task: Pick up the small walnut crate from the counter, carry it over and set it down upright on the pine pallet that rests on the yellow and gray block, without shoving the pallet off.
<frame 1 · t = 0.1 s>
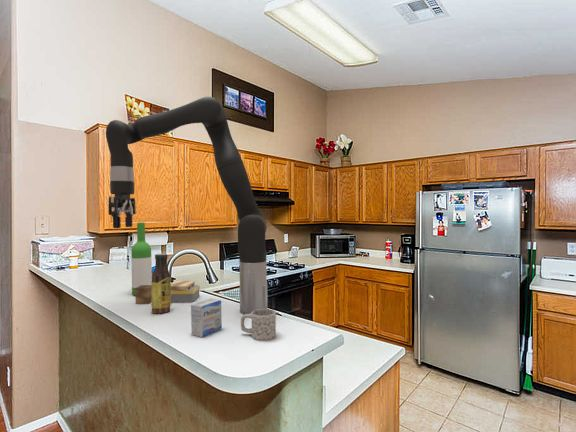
hand: (123, 227, 118), 29 cm above the table, tool pointing down, fingers open, 8 cm apart
wine bottle: (142, 294, 144), on the table
yellow and gray block: (181, 299, 134), on the table
medicine box: (206, 332, 98), on the table
mug: (257, 336, 95), on the table
pallet: (180, 287, 134), point 4 cm above the table, touching yellow and gray block
crate: (145, 302, 131), on the table
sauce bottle: (161, 312, 118), on the table
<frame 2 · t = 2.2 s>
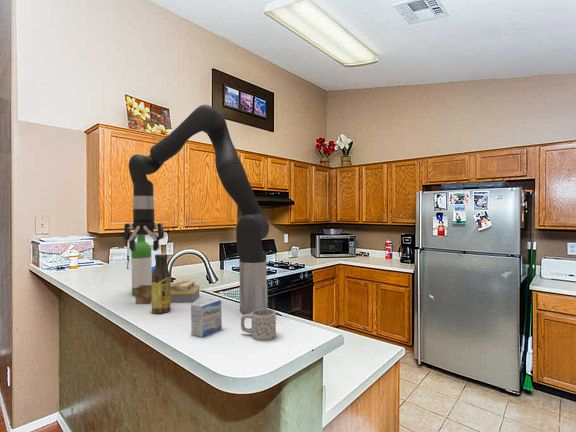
hand: (144, 250, 130), 20 cm above the table, tool pointing down, fingers open, 8 cm apart
nothing on the table moved.
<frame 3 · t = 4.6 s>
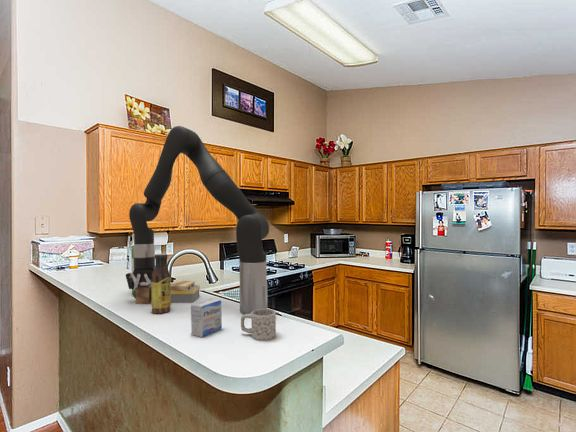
hand: (145, 299, 131), 1 cm above the table, tool pointing down, fingers closed on crate, 5 cm apart
crate: (145, 302, 131), on the table, touching gripper
everything else where it was.
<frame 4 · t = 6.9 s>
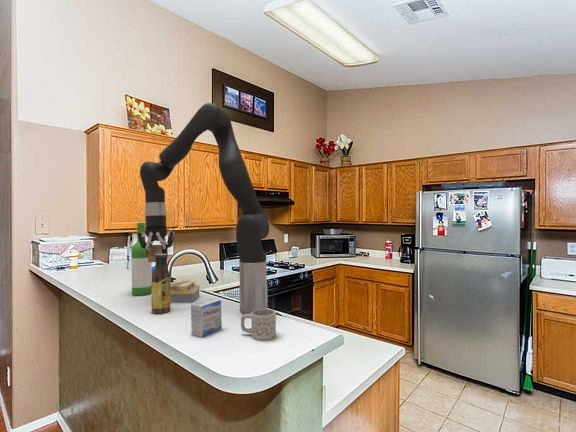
hand: (157, 258, 131), 17 cm above the table, tool pointing down, fingers closed on crate, 5 cm apart
crate: (157, 261, 131), point 16 cm above the table, touching gripper
everything else where it was.
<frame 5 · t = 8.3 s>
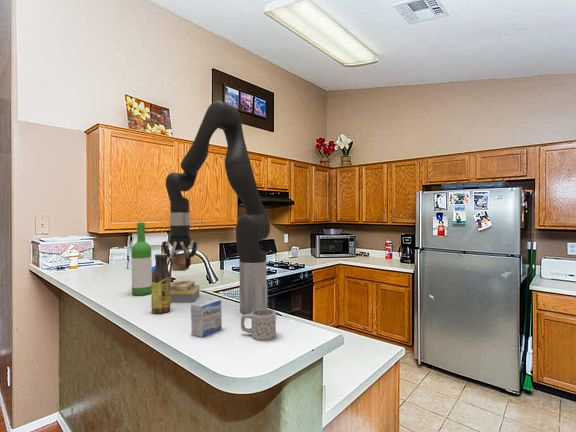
hand: (180, 267, 134), 13 cm above the table, tool pointing down, fingers closed on crate, 5 cm apart
crate: (180, 269, 134), point 12 cm above the table, touching gripper
everything else where it was.
when the fingers open (8 cm above the table, at t = 9.5 s): crate drops 1 cm, resting on pallet.
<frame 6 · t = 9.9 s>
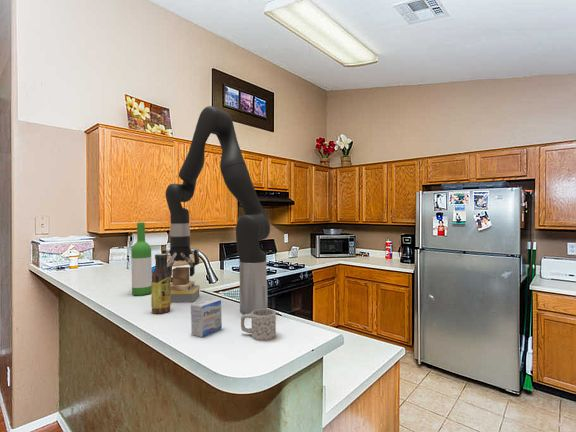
hand: (180, 276, 134), 9 cm above the table, tool pointing down, fingers open, 8 cm apart
pallet: (180, 287, 134), point 4 cm above the table, touching crate, yellow and gray block
crate: (181, 283, 134), point 6 cm above the table, touching pallet
everything else where it was.
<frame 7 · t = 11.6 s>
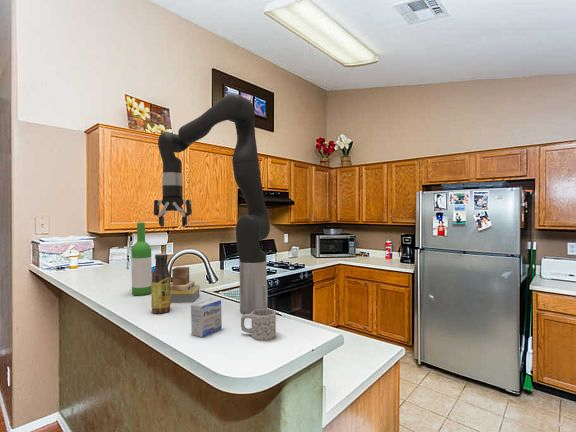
hand: (173, 226, 133), 29 cm above the table, tool pointing down, fingers open, 8 cm apart
nothing on the table moved.
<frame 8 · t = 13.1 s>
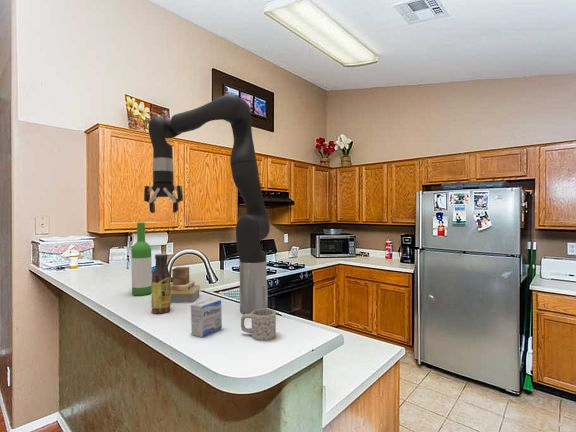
hand: (163, 212, 132), 34 cm above the table, tool pointing down, fingers open, 8 cm apart
nothing on the table moved.
at the end: crate inside the target area on the pallet (0.1 cm from its centre), point 1.7 cm above the pallet's base; crate tilted 0°; pallet moved 0.0 cm from its start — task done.
